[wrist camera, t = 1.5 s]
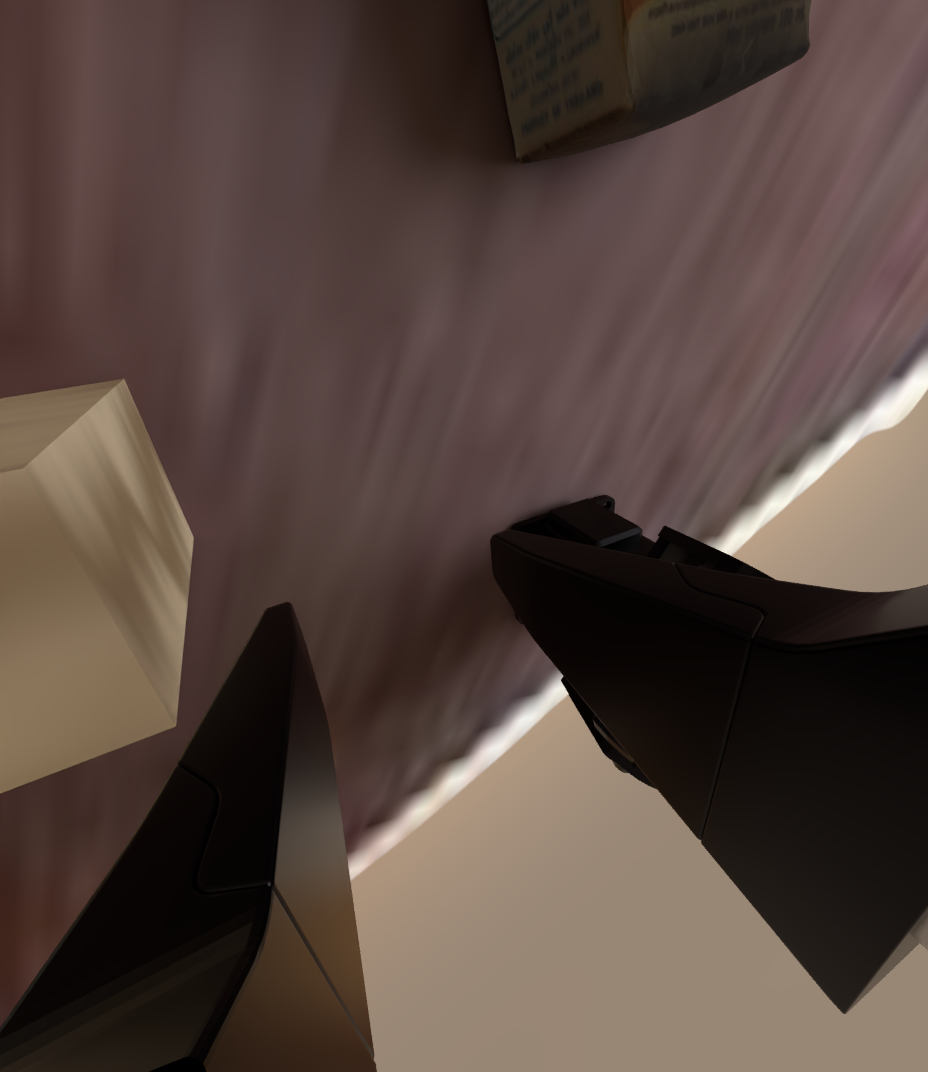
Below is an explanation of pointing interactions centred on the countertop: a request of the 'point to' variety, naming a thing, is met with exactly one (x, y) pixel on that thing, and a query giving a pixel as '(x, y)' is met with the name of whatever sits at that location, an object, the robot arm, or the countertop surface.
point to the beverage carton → (632, 63)
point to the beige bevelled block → (85, 581)
